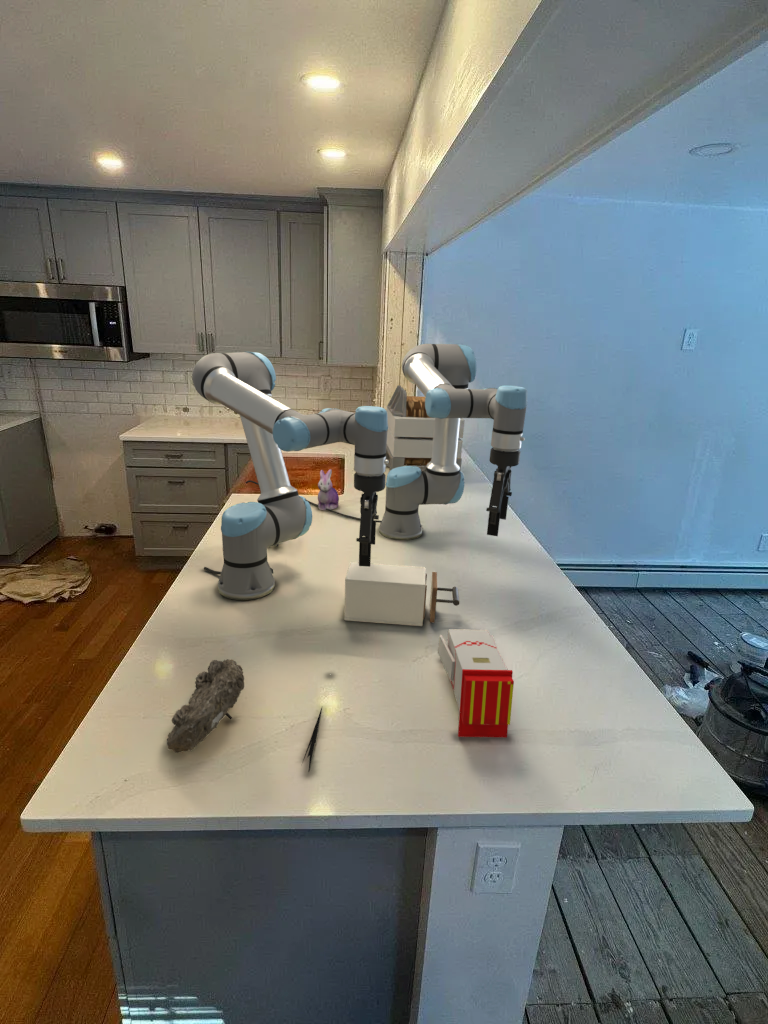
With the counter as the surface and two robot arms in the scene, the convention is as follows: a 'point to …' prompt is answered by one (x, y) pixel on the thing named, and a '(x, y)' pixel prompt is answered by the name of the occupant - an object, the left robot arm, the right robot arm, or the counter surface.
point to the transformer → (411, 432)
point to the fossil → (206, 705)
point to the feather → (313, 740)
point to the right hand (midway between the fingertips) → (496, 526)
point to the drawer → (434, 596)
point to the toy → (478, 682)
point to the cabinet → (385, 594)
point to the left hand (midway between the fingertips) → (367, 554)
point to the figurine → (327, 492)
